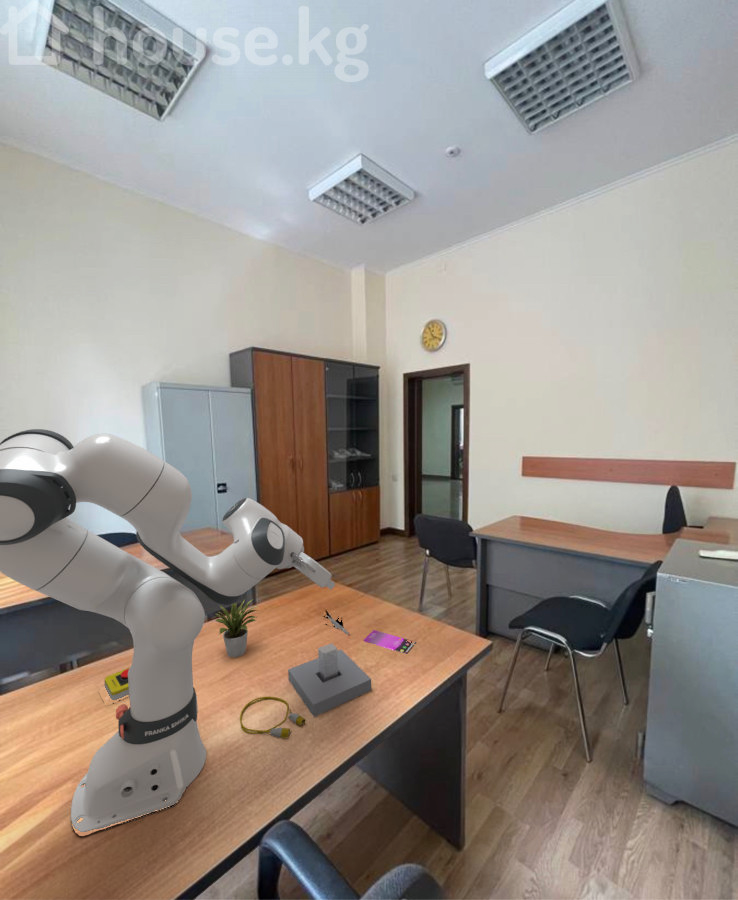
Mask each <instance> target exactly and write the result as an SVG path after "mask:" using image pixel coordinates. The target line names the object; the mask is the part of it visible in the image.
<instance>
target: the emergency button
mask: <svg viewBox="0 0 738 900" xmlns="http://www.w3.org/2000/svg"><path fill="white" fill-rule="evenodd" d="M129 668H130V667H127V668H124V669H122V670H120V671H117V672H115V673H111V674H109V675H107V676H106V677H104V681H103V682H104V686H105V688H106V690H107V692H108V694H109V696H110V698H111V699H112V700H117V699H119V698H122V697H124V696H126V695H129V685H128V671H129ZM104 686H103V687H104Z"/></svg>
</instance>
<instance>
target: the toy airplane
mask: <svg viewBox="0 0 738 900" xmlns="http://www.w3.org/2000/svg"><path fill="white" fill-rule="evenodd" d="M324 611H325V614H326V615H327V617H328V618H329V619H330V620H331V621H330V620H329V619H328V618H327V619H328V620H329V621H330V622H331V623H332V624H334V626H335V627H334V629H338V630H341V631H342V632H343V633H344V634H346V635H347V636H349V635H350V632H348V631H347V629H345V627H344V623H343V622H342V621H343V619H342V620H341V622H339V621H338V619H339V618H338V617H337V618H338V619H337V618H336V619H337V620H336V619H334V618H333V617H332V615H331V614H330V613H329V612H328V611H327V609H324ZM329 614H330V615H331V616H330V615H329ZM326 615H325V616H326ZM332 626H333V625H332Z"/></svg>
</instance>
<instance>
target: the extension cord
mask: <svg viewBox="0 0 738 900" xmlns="http://www.w3.org/2000/svg"><path fill="white" fill-rule="evenodd" d="M266 700H269V701H270V700H271V701H277V702H280V703H282V704H285V706H286V713H285V717H284V719H283V720H282V721H281V722H279V723H278V724H276V725H275V726H273V727H271V728H269V729H267V730H263V729H262V730H261V729H259V730H258V729H251V728H249V727H248V728H247V727H245V725H244V724H243V714H244V712H245V711H246V709H247V708H249V707H250V706H251V705H253V704H256V703H258V702H262V701H266ZM289 707H290V706H289V703H288V702H287V701H286V700H285V699H283V698H280V697H276V696H260V697H257V698H254V699H252V700H251V701H249V702H248V703H246V704H245V706H244V707H243V708H242V710H241V711H240V714H239V722H240V728H241V730H242V731H243V732H244V733H246V734H249V735H258V734H264V733H265V734H266V733H269V735H270V736H272V737H276V738H281V739H288V738H289V736H290V735H291V731H292V730H291V728H287V727H285V728H284V727H280V726H281V725H283V724H284V723H285V722H286V720H287V718H288V719H289V720H291V721H292V722H293V724H295V725H298V726H300V727H302V728H303V726H302V725H306V719H305V717H304V718H303V717H302V716H301V715H300V714H298V713H293V712H292V711H291V709H290V708H289ZM288 714H289V715H288Z"/></svg>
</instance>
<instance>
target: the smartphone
mask: <svg viewBox="0 0 738 900" xmlns="http://www.w3.org/2000/svg"><path fill="white" fill-rule="evenodd" d="M400 638H401V640H399V639H400ZM407 640H408V639H406V638H404V637H399V636H396V635H393V634H389V633H387V632H383V631H379V630H375V629H374V630H372V631H370V633H369V634H368V635H367V636H366V637H365V638H364V639H363V642H364V641H365V643H367V644H368V643H369V644H371V643H372V644H371V645H374V644H376V645H375V646H378V647H382V648H384V649H389V650H392V651H396V652H399V653H401V654H406V655H408V654H409V653H410V651H411V650H412V648H414V646H415V645H416V644H417V642H416V641H414V642H415V643H412V641H413V640H411V639H409V640H410V641H411V643H412V644H411V643H410V641H407ZM406 641H407V642H406ZM413 644H415V645H413Z"/></svg>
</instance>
